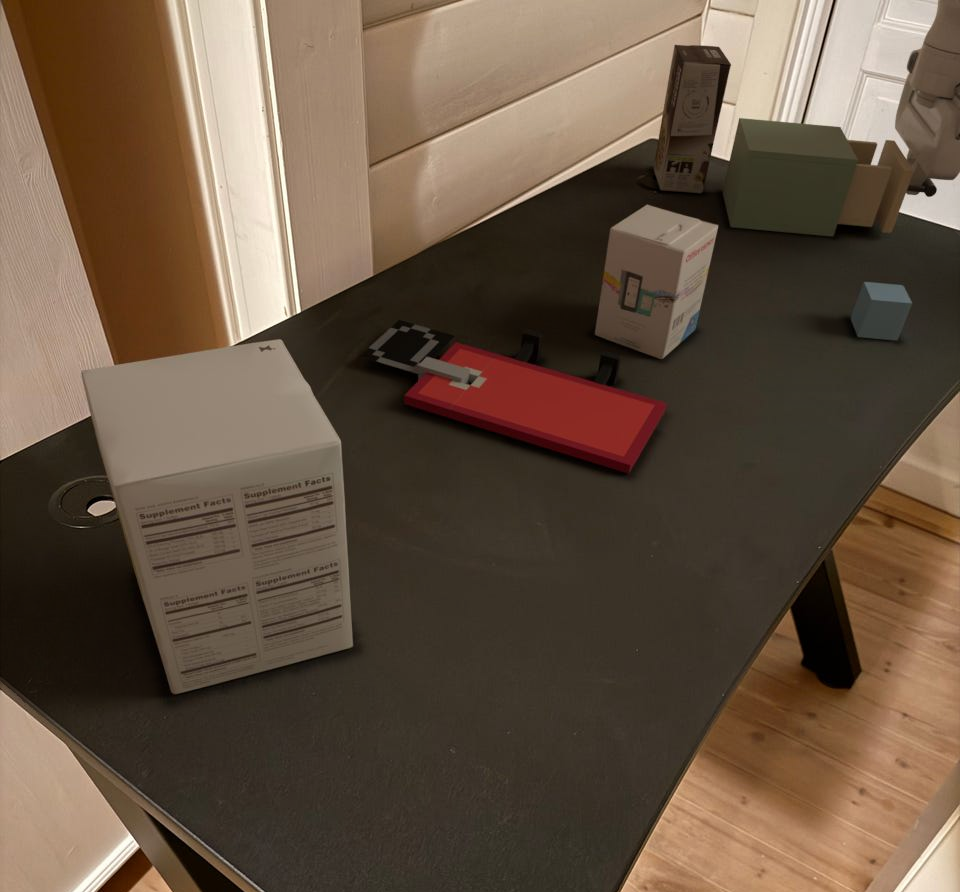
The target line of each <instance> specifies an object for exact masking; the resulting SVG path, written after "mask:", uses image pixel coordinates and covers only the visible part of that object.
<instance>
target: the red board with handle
mask: <svg viewBox="0 0 960 892" xmlns="http://www.w3.org/2000/svg"><path fill="white" fill-rule="evenodd" d="M455 337H456V335H453V334H450V333H447V332H443V331H439V330H436V329H432V328H429V327H426V326H422V325H418V324H414V323H411V322H408V321H404V320H401V319H398V320H397V321H396V322H395V323H394V324H393V325H392V326H390V328H389V329H387V330H386V331H385V332H384V333H383V334H382V335H381V336H380V337H379V338H377V339H376V340H375V342H373V343H372V344H371V345H370V346H369V347H368V348H367V349H366V350H364V351H363V352H362V353H361V354H360V355H359V357H361V358H364V359H366V360H371V361H374V362H378V363H380V364H384V365H387V366H391V367H394V368H398V369H400V370H403V371H407V372H410V373H414V374H417V382H416V383H415V384H413V386H412V387H411V388H410V389H409V390H408V391H407V392H406V393H405V394H404V399H403V400H404V403H403V404H404V405H406V406H410V407H413V408H416V409H419V410H421V411H426V412H429V413H432V414H435V415H439V416H441V417H445V418H448V419H451V420H454V421H457V422H461V423H464V424H467V425H471V426H473V427H477V428H481V429H483V430H486V431H489V432H492V433H497V434H499V435H503V436H506V437H509V438H512V439H515V440H519V441H522V442H525V443H528V444H531V445H535V446H538V447H541V448H544V449H547V450H551V451H554V452H557V453H561V454H564V455H566V456H570V457H573V458H577V459H580V460H583V461H586V462H590V463H593V464H595V465H600V466H601V467H606V468H608V469H612V470H615V471H618V472H621V473H625V474H629V475H630V472H631V471H632V469H633V467H634V466H635V464H636V462H637V460H638V459H639V457H640V455H641V454H642V452H643V451H644V448H645V447H646V445H647V444H648V442H649V440H650V438H651V436H652V435H653V433H654V431H655V429H656V428H657V426H658V424H659V423H660V421H661V419H662V418H663V416H664V414H665V412H666V409H667V405H668V402H664V401H661V400H658V399H653V398H650V397H647V396H643V395H640V394H637V393H634V392H629V391H626V390H623V389H619V388H617V387H612V386H615V384H616V383H617V381H618V379H619V378H618V377H619V373H620V369H621V368H620V367H621V363H622V357H623V355H621V354H618V353H614V352H611V351H607V350H603V351H602V352H601V354H600V358H599V364H598V370H597V375H596V377H595V378H594V380H593V381H591V380H588V379H585V378H581V377H577V376H575V375H571V374H567V373H564V372H560V371H557V370H553V369H551V368H547V367H543V366H540V365H536V364H532V363H529V361H530V362H533V363H539V362H538V361H540V360H541V355H542V345H543V338H544V333H542V332H540V331H535V330H532V329H529V328H525V329H524V330H523V332H522V333H521V344H520V345H521V346H520V350H518V353H517V354H516V357H514V358H511V357H509V356H504V355H502V354H498V353H494V352H491V351H487V350H484V349H481V348H477V347H474V346H470V345H467V344H463V343H460V342H457V341H456V342H454V343H453V344H452V345H451V346H450V348H448V350H447V351H445V353H444V354H443V355H442V356H441V357H440V358H439V359H436V358H435V357H436V356H437V355H438V354H440V352H441V351H442V350H444V348H445V347H446V346H447V345H448V344H449V343H450V342H451V341H452V340H453V339H454V338H455ZM470 383H471V384H470ZM607 384H610V385H612V386H608V385H607Z"/></svg>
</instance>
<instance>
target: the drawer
mask: <svg viewBox="0 0 960 892" xmlns="http://www.w3.org/2000/svg"><path fill="white" fill-rule="evenodd" d="M847 140H848V142H849V144H850V146H851V148H852V150H853V151H854V153H855V155H856V157H857V159H858V161H857V164H856V168H855V171H854V174H853V177H852V180H851V183H850V186H849V189H848V193H847V196H846V199H845V202H844V205H843V208H842V211H841V214H840V218H839V221H838V224H837V225H844V226H845V225H846V226H855V227H856V226H857V227H867V228H868V227H869V228H872V227H873V225H874V222H876V223H877V225H878V227H879V229H880V231H881V233H885V234H892V232H893V229H894V227H895V225H896V222H897V219H898V216H899V214H900V210H901V208H902V205H903V202H904V200H905V197H906V195H907V193H906V191H912V192H919V193H922V194H923V193H924V195H925V197H928V198H931V197H934V196H935V195H936V194H937V191H938V189H937V187H936V185H935V183H934V182H933V179H931V178H928V177H927V178H926V180H925V181H924V182H923V184H922V186H914V185H909V183H910V180H911V178H912V175H913V172H914V170H913V169H912V167H911V166H910V164H909V163H908V161H907V157H906V156H905V154H904V153H903V152H902V150H901V148H900V147H899V145H898V144H897V142H896V141H895V140H892V139H891V140H890V139H885V141H884V144H883V147H882V150H881V152H880V156H879V159H878V161H877V164H876V165H875V164H872V162H873V159H874V156H875V153H876V150H877V147H878V142H876V141H867V140H866V141H865V140H853V139H847Z"/></svg>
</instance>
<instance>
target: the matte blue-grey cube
mask: <svg viewBox="0 0 960 892" xmlns="http://www.w3.org/2000/svg"><path fill="white" fill-rule="evenodd" d="M856 299H857V300H856V303H855V304H854V305H855V306H854V308H853V310H852V314H851V317H850V321H851V324H852V326H853V329H854V330H855V334H856V336H857V338H863V339H874V340H886V341H896V342H897V341H898V340H899V337H900V335H901V332H902V330H903V327H904V325H905V322H906V320H907V317H908V315H909V313H910V310H911V307H912V306H913V302H912V300H911V298H910V295H909V294H908V292H907V290H906V288H905V286H904V285H902V284H894V283H893V284H892V283H881V282H873V281H871V282H870V281H863V283H862V286H861V289H860V291H859V294H858V296H857V298H856Z"/></svg>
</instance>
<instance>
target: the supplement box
mask: <svg viewBox="0 0 960 892" xmlns="http://www.w3.org/2000/svg"><path fill="white" fill-rule="evenodd" d="M80 374H81V381H82V384H83V388H84V393H85V397H86V401H87V405H88V409H89V414H90V418H91V421H92V425H93V429H94V433H95V437H96V442H97V445H98V448H99V452H100V456H101V460H102V462H103V466H104V469H105V473H106V477H107V481H108V483H109V488H110V491H111V494H112V498H113V501H114V504H115V509H116V512H117V516H118V519H119V523H120V525H121V529H122V533H123V536H124V539H125V542H126V546H127V550H128V553H129V556H130V560H131V563H132V566H133V570H134V574H135V577H136V580H137V584H138V587H139V591H140V594H141V598H142V601H143V604H144V606H145V610H146V613H147V616H148V620H149V623H150V626H151V630H152V632H153V636H154V638H155V642H156V645H157V648H158V652H159V655H160V658H161V663H162V665H163V668H164V672H165V675H166V679H167V682H168V686H169V690H170V692H171V693H172V695H179V694H182V693H186V692H191V691H194V690H198V689H202V688H205V687H210V686H214V685H217V684H221V683H225V682H228V681H231V680H232V681H233V680H235V679H236V680H237V679H240V678H243V677H247V676H252V675H254V674H258V673H262V672H266V671H270V670H273V669H277V668H281V667H285V666H289V665H293V664H296V663H299V662H303V661H306V660H307V661H308V660H311V659H315V658H318V657H322V656H325V655H330V654H333V653H336V652H337V653H338V652H340V651H344V650H347V649H351V648H353V647H354V641H353V640H354V639H353V625H352V623H353V622H352V608H351V589H350V573H349V554H348V537H347V517H346V499H345V497H346V496H345V483H344V468H343V467H344V466H343V454H342V453H343V452H342V441H341V438H340V437H339V435H338V434H337V432H336V429H335V428H334V427H333V425H332V423H331V422H330V420H329V418H328V417H327V415H326V413H325V412H324V410H323V408H322V405H320V403H319V401H318V400H317V399H316V397H315V395H314V393H313V390H312V388H311V386H310V384H309V383H308V382H307V380H306V379H305V378H304V376H303V375H302V373H301V371H300V369H299V367H298V365H297V364H296V362H295V360H294V359H293V357H292V356H291V354H290V352H289V350H288V349H287V347H286V345H285V343H284V341H283V340H282V339H280V338H279V339H271V340H264V341H257V342H250V343H244V344H238V345H237V344H236V345H232V346H231V345H230V346H225V347H219V348H212V349H207V350H206V349H205V350H199V351H194V352H189V353H188V352H187V353H182V354H176V355H170V356H169V355H168V356H163V357H158V358H157V357H156V358H151V359H150V358H149V359H145V360H139V361H133V362H127V363H126V362H125V363H120V364H114V365H107V366H102V367H95V368H91V369H82V370H81V373H80Z"/></svg>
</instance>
